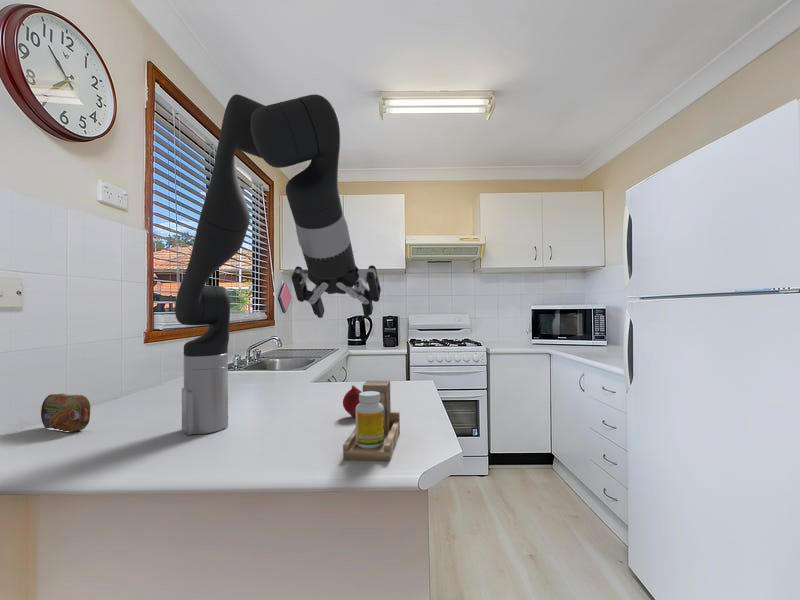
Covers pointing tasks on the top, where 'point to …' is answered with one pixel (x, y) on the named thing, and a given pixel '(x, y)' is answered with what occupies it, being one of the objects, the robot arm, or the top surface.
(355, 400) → the onion
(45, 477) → the top surface
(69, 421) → the tin
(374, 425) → the supplement bottle
